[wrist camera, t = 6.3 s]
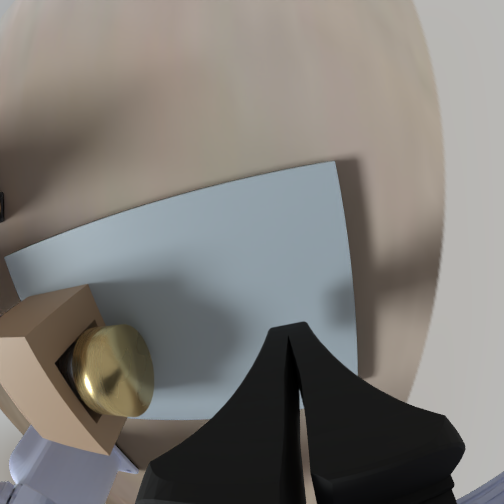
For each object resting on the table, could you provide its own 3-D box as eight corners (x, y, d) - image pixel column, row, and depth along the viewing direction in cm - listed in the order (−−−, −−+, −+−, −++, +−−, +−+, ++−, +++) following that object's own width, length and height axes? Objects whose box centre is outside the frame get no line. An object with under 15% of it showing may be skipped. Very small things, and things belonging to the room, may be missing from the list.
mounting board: (92, 402, 16) (58, 461, 10) (16, 251, 13) (-53, 288, 7) (352, 382, 14) (380, 466, 9) (327, 161, 11) (390, 160, 5)
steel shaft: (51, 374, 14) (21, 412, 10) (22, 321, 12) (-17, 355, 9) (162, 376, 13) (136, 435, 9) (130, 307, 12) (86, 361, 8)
